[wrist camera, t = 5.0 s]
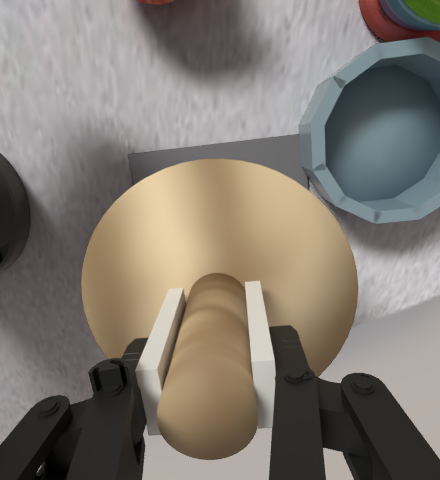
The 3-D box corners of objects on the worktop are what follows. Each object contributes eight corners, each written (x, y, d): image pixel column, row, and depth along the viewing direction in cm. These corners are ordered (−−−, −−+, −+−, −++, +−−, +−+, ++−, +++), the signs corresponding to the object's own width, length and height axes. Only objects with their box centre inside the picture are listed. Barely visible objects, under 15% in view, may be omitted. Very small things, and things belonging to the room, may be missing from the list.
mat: (157, 310, 37) (156, 312, 36) (128, 154, 32) (127, 154, 32) (312, 297, 35) (312, 298, 35) (304, 133, 31) (305, 133, 31)
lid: (115, 410, 22) (39, 588, 14) (59, 175, 18) (-104, 212, 9) (353, 394, 21) (438, 575, 13) (352, 142, 17) (477, 147, 8)
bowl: (302, 216, 33) (314, 230, 28) (295, 66, 30) (307, 52, 25) (445, 202, 32) (482, 213, 27) (456, 45, 29) (500, 26, 24)
